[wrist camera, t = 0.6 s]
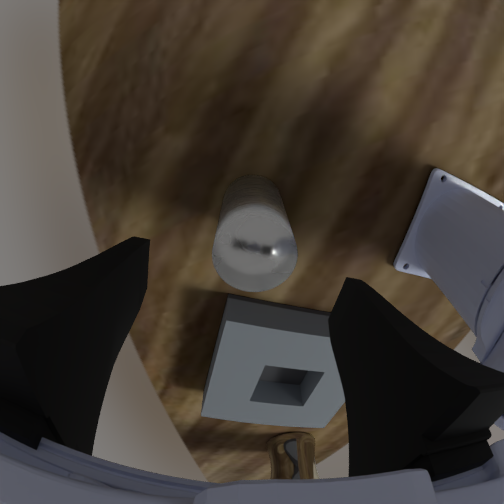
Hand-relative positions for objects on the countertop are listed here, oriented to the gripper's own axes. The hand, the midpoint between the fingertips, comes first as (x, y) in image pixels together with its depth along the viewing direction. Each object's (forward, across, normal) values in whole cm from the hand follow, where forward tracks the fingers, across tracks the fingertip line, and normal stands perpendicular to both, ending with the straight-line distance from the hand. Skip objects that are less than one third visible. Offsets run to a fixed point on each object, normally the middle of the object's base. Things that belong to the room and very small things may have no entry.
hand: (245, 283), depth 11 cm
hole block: (+9, -6, +13) cm, 17 cm away
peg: (+9, 0, 0) cm, 9 cm away
